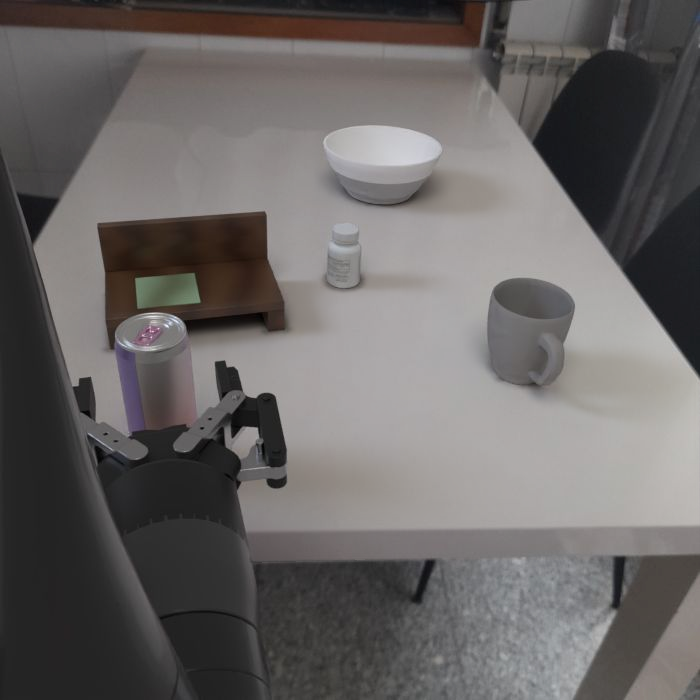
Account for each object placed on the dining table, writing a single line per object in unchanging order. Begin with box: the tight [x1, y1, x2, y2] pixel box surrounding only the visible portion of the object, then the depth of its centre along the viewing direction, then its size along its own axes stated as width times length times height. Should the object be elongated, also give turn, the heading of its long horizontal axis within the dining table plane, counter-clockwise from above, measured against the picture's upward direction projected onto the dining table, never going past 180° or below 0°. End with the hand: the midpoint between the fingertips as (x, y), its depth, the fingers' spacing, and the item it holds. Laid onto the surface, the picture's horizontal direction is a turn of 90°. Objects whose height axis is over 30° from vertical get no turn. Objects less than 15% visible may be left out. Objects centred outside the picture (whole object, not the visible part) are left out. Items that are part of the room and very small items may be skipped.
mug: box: [486, 277, 576, 386], centre depth 77 cm, size 12×9×10 cm
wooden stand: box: [96, 210, 286, 350], centre depth 85 cm, size 20×12×10 cm, turn 106°
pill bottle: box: [326, 222, 362, 289], centre depth 94 cm, size 4×4×8 cm
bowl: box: [322, 124, 443, 205], centre depth 119 cm, size 20×20×8 cm
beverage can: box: [114, 312, 198, 436], centre depth 62 cm, size 6×6×15 cm
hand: (155, 379), depth 47 cm, fingers open, 8 cm apart
